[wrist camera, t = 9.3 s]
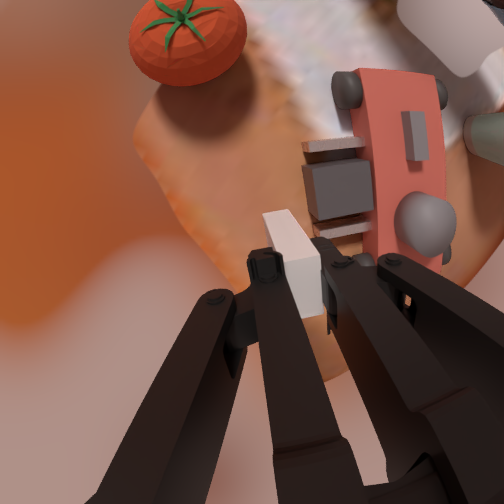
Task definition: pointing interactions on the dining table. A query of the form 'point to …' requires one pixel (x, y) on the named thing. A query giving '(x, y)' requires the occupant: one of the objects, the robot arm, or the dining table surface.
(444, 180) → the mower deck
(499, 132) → the coffee cup
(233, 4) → the tomato
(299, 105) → the dining table surface
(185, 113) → the dining table surface
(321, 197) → the grey cube
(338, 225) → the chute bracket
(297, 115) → the dining table surface
